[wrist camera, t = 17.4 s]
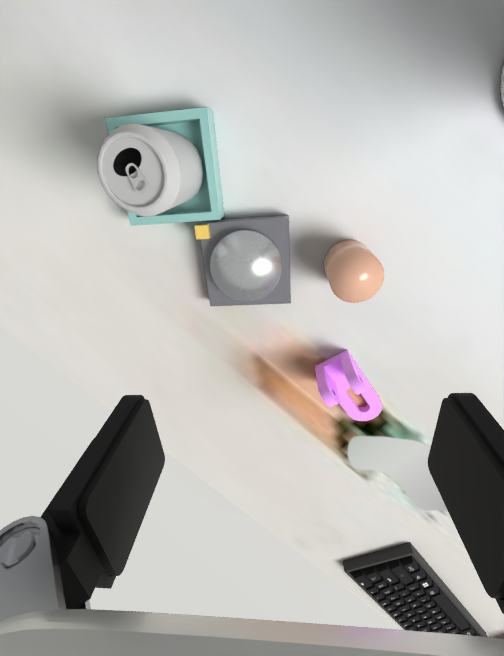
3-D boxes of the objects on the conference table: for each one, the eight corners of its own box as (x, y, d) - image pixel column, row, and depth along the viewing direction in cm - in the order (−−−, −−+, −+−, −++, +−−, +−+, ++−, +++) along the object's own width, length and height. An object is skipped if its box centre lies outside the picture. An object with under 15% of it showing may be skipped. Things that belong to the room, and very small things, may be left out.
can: (179, 116, 35) (135, 99, 25) (218, 180, 38) (192, 189, 28) (129, 157, 38) (69, 157, 27) (169, 214, 40) (128, 235, 30)
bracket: (314, 365, 50) (319, 394, 44) (347, 349, 48) (356, 376, 42) (354, 419, 55) (363, 452, 48) (385, 406, 53) (399, 439, 47)
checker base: (288, 215, 40) (288, 218, 38) (290, 297, 45) (290, 305, 43) (199, 221, 41) (194, 225, 39) (211, 300, 46) (207, 308, 44)
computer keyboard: (484, 629, 84) (492, 648, 81) (424, 639, 89) (429, 658, 86) (408, 539, 69) (415, 558, 66) (342, 558, 74) (345, 577, 71)
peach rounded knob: (373, 238, 40) (386, 250, 35) (369, 283, 43) (381, 301, 38) (324, 241, 41) (330, 253, 36) (323, 285, 44) (328, 303, 39)
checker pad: (280, 227, 39) (280, 228, 38) (282, 296, 43) (282, 300, 42) (207, 231, 40) (205, 233, 39) (216, 299, 44) (214, 302, 43)
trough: (212, 111, 36) (206, 107, 33) (224, 215, 41) (220, 219, 38) (118, 121, 37) (104, 118, 34) (141, 221, 42) (130, 225, 39)
